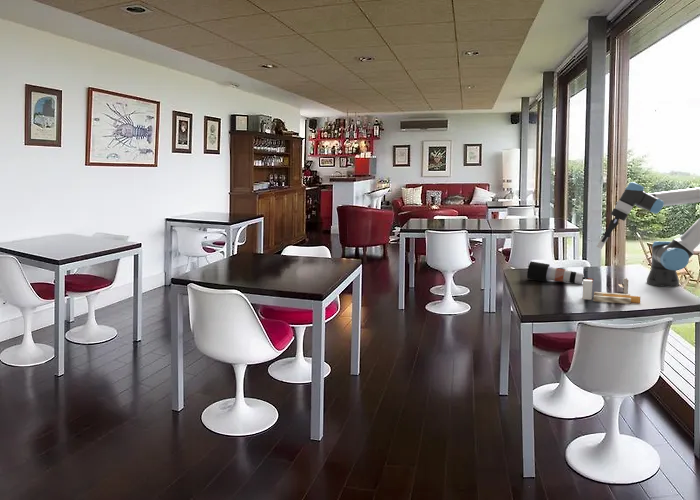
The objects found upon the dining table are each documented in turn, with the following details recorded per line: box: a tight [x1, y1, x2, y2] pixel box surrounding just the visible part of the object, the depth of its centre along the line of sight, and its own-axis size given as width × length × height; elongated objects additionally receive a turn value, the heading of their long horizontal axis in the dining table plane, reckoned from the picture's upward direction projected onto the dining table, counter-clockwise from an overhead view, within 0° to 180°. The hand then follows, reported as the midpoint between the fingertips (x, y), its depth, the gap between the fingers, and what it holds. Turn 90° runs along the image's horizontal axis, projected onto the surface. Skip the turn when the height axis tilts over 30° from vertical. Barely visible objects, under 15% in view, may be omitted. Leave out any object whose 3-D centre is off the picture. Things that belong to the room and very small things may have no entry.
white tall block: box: [581, 279, 593, 301], centre depth 280 cm, size 4×4×9 cm
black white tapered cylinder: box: [526, 260, 594, 285], centre depth 317 cm, size 10×34×10 cm
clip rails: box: [593, 291, 632, 305], centre depth 276 cm, size 16×10×2 cm, turn 66°
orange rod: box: [603, 294, 641, 304], centre depth 273 cm, size 16×3×3 cm
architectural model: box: [618, 277, 629, 294], centre depth 292 cm, size 3×7×7 cm, turn 164°
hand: (599, 247), depth 301 cm, fingers open, 13 cm apart
